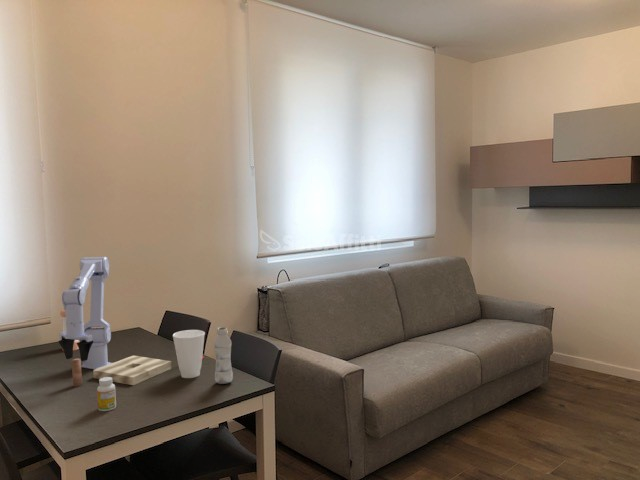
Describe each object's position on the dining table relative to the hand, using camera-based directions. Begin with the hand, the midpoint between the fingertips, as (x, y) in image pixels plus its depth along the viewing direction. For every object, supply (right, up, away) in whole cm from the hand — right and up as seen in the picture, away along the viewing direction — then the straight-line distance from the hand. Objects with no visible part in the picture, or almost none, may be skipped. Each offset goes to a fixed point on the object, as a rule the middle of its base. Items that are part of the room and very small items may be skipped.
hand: (76, 359), depth 194 cm
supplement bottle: (+19, -11, -21) cm, 31 cm away
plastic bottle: (+53, -9, 0) cm, 54 cm away
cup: (+39, -8, +9) cm, 41 cm away
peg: (0, -10, +1) cm, 10 cm away
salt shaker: (-25, -6, +48) cm, 55 cm away
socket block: (+16, -8, +13) cm, 22 cm away
